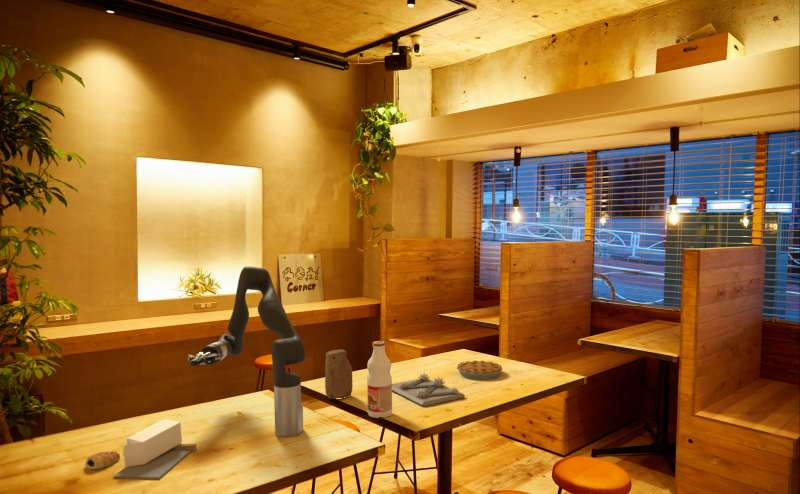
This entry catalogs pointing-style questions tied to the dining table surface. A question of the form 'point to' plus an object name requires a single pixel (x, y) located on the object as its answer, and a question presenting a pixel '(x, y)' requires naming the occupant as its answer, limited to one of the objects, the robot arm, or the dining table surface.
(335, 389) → the block
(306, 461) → the dining table surface
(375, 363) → the fruit juice
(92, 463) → the pastry
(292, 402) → the robot arm
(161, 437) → the milk carton
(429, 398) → the decorative plate
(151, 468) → the grey flat board
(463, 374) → the pie
